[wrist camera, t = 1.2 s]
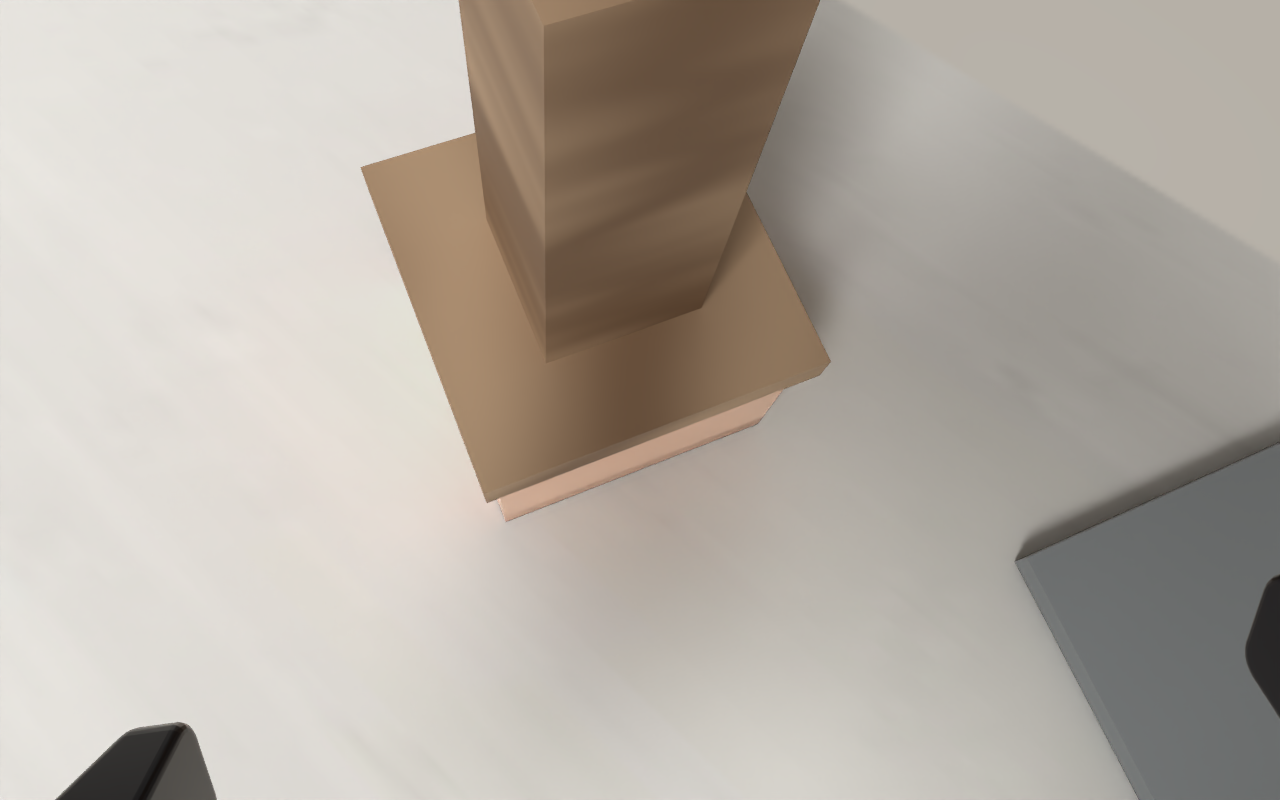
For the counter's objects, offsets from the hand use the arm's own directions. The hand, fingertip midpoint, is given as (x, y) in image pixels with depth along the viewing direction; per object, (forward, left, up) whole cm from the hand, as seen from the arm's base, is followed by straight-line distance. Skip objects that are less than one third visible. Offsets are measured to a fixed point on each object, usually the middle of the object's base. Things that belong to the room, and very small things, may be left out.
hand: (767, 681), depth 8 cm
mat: (+14, -5, -13) cm, 20 cm away
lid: (+2, +8, -9) cm, 12 cm away
